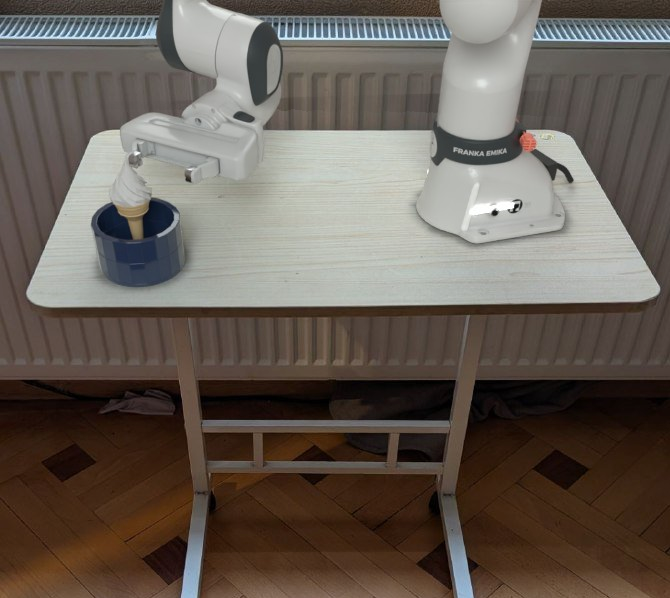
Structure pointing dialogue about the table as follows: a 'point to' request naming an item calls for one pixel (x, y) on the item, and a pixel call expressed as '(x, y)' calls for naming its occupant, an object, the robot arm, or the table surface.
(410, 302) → the table surface
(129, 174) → the ice cream cone
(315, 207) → the table surface
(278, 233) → the table surface
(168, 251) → the pot
